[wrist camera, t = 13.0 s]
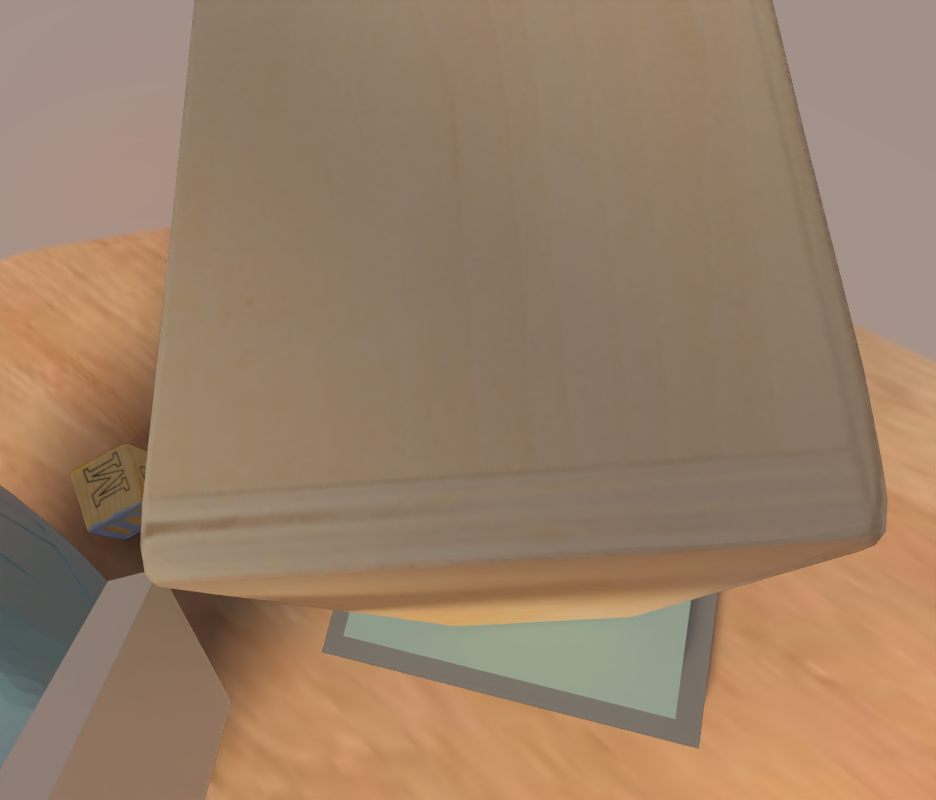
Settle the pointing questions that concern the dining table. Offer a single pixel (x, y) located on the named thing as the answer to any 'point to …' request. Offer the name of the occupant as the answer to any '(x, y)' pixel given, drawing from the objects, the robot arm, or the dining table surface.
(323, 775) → the dining table surface
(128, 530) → the alphabet block
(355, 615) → the brick stand
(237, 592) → the toy refrigerator
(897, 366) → the dining table surface
